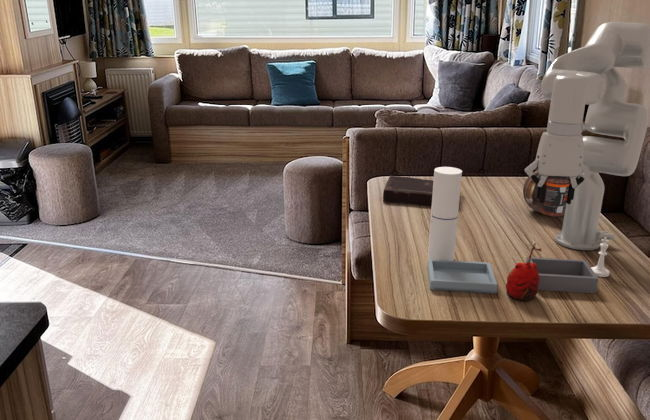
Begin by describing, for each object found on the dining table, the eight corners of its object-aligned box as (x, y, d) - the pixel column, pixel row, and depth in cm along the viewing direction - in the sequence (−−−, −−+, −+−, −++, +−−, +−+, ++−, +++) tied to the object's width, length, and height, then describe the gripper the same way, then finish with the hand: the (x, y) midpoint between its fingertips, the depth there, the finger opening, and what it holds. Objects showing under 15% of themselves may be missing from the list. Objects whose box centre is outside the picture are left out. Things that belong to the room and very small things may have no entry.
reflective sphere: (557, 205, 218) (563, 163, 213) (575, 220, 204) (582, 175, 199) (514, 204, 218) (519, 162, 213) (529, 220, 204) (535, 175, 199)
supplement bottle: (566, 218, 152) (573, 172, 148) (540, 216, 153) (547, 171, 149) (562, 210, 157) (569, 166, 153) (537, 208, 158) (543, 164, 154)
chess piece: (607, 278, 164) (614, 242, 160) (587, 274, 166) (593, 238, 163) (610, 271, 167) (617, 236, 164) (591, 267, 170) (597, 232, 167)
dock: (583, 274, 166) (585, 260, 164) (595, 293, 155) (598, 278, 154) (524, 270, 167) (526, 257, 166) (533, 289, 157) (535, 275, 155)
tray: (488, 271, 166) (489, 262, 166) (496, 293, 154) (497, 284, 153) (427, 267, 168) (428, 259, 167) (430, 289, 156) (430, 280, 155)
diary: (456, 209, 213) (457, 195, 212) (382, 203, 218) (383, 189, 217) (457, 193, 231) (458, 180, 229) (389, 187, 236) (390, 174, 234)
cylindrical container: (438, 265, 170) (445, 175, 161) (422, 255, 176) (428, 168, 167) (459, 260, 173) (467, 172, 164) (443, 251, 179) (450, 165, 170)
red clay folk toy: (530, 289, 157) (538, 233, 152) (542, 302, 150) (551, 244, 145) (500, 290, 156) (507, 234, 151) (512, 304, 149) (519, 245, 144)
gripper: (596, 126, 151) (585, 198, 157) (523, 124, 152) (514, 195, 158) (607, 133, 144) (594, 208, 150) (530, 130, 145) (520, 205, 151)
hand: (553, 201), depth 154 cm, fingers closed on supplement bottle, 6 cm apart
